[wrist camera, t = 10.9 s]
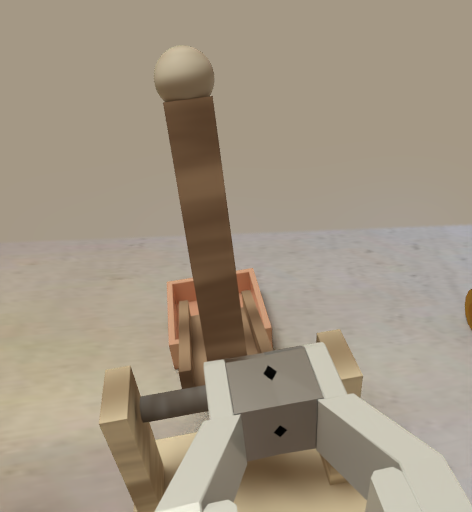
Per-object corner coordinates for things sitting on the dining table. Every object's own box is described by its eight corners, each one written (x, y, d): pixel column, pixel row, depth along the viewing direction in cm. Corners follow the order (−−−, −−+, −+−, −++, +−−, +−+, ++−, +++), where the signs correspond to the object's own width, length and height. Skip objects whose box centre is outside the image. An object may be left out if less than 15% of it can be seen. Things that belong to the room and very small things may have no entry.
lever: (327, 404, 28) (302, 26, 20) (143, 439, 27) (50, 57, 20) (280, 310, 40) (255, 57, 33) (155, 332, 40) (101, 76, 32)
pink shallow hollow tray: (272, 352, 45) (271, 327, 43) (174, 369, 45) (169, 345, 43) (254, 290, 54) (252, 268, 52) (171, 304, 53) (166, 281, 51)
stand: (371, 520, 32) (392, 408, 24) (134, 569, 30) (80, 468, 23) (330, 414, 39) (337, 303, 31) (138, 450, 38) (98, 343, 30)
